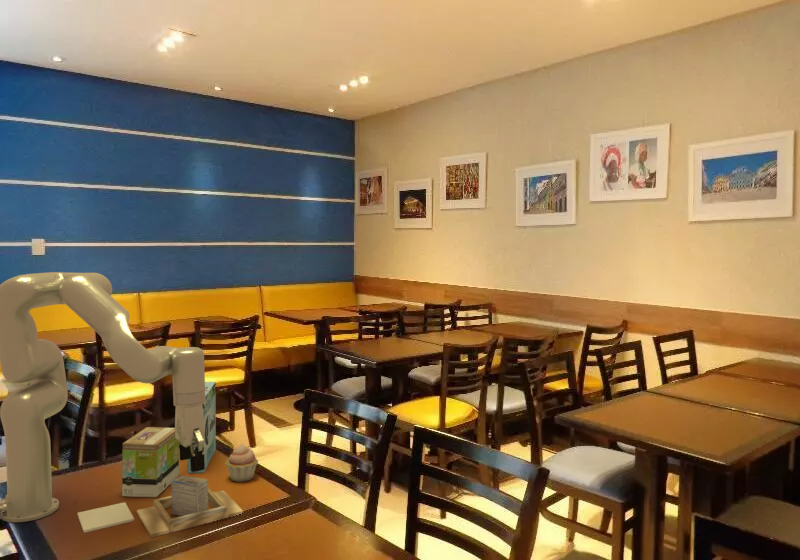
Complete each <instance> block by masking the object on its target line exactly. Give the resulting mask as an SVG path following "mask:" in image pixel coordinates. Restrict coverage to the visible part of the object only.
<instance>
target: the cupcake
mask: <svg viewBox="0 0 800 560" xmlns="http://www.w3.org/2000/svg"><path fill="white" fill-rule="evenodd" d="M258 463H259V459H257V457H256V454H255V453H254V450H253V449H252V448H250V447H247V446H246V445H245V444H243V443H241V444H240V445H238V446H237V447H235V448H234V449H233V450H232V452H231V454H230V455H229V457H228V459H227V461H226V462H225V465H226V468H227V470H228V472H229V473H228V474H229V477H230V479H231V480H232V481H233V482H237V483H240V482H241V483H242V482H249V481H250V480H252V479H253V478H254V475H255V472H256V467H257V465H258Z"/></svg>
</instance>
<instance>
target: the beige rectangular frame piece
mask: <svg viewBox="0 0 800 560" xmlns="http://www.w3.org/2000/svg"><path fill="white" fill-rule="evenodd" d="M208 504H210V505H211V506H212V507H213V508H208V510H205V511H201V512H197V513H193V514H189V515H185V516H177V517H173V518H172V517H171V516H170V515H169V513H168V512H167V510H166V509H168V508H172V495H169V496H165V497H161V498H156V499H153V506H150V507H149V506H148V507H145V508H140V509H136V514H137V515H138V517H139V519H140V521H141V523H142V524H143V526H144V528H145V530H146V531H147V533H148V536H149V537H150V538H151V539H152V538H155V537H158V536H164V535H167V534H172V533H175V532H178V531H183V530H186V529H191V528H194V527H199V526H201V525H206V524H210V523H214V522H217V520H218V521H221V519H222V520H225V518H226V519H229V517H230V518H233V516H234V517H237V516H240V515H239V514H241V515H243V514H244V510H243V509H242V508H241V507H240V506H239V505H238V504H237V502H235V501H234V499H233V498H231V497H230V496H229V494H227V492H226V491H224V490H219V491H213V490H211V488H210V487H208ZM242 513H243V514H242ZM236 515H237V516H236ZM213 521H214V522H213ZM205 523H206V524H205Z"/></svg>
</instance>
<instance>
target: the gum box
mask: <svg viewBox="0 0 800 560" xmlns="http://www.w3.org/2000/svg"><path fill="white" fill-rule="evenodd" d="M216 390H217V389H216V381H205V400H206V402H205V403H204V404H202V407H203V416H204V430H205V441H204V445H203V447H204V463H205V469H204V470H201V471H196V472H191V462H190V459H187V473H189V474H204V473H205V472H206V469H207V468H208V466H209V464H210V461H211V460H212V458H213V456H214V454H215V453H216V450H217V449H216V447H217V445H216V444H217V442H216V441H217V440H216V439H217V438H216V435H217V432H216V429H217V427H216V426H217V423H216V421H217V420H216V415H217V414H216V411H217V410H216V409H217V408H216V407H217V405H216V400H217V399H216V396H217V395H216V394H217V393H216ZM196 442H197V441H196ZM192 443H195V442H192ZM196 447H197V446H195V447H194V450H195V448H196Z"/></svg>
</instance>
